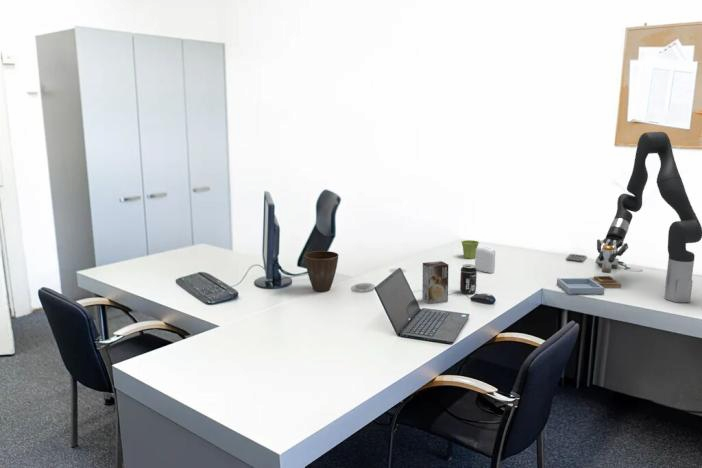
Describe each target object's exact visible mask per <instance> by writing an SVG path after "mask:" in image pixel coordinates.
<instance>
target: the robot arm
mask: <svg viewBox="0 0 702 468" xmlns="http://www.w3.org/2000/svg"><path fill="white" fill-rule="evenodd" d="M649 154H652V155H653V154H657V156H658V158H659V161H660V167H659V170H658V173H657V177H656V185H657V188H658V191H659V194H660V196H661V198H662V199H663V201H664V202H665V203H666V204H667V205H669V207H671V208H672V209H673V210H674V211H675V212H676V214H677V216H678V218H679V220H678V221H677V220H676V221H674V222H672V223H671V224H670V226H669V229H668V233H667V234H668V235H667V252H668V258H667V259H668V261H667V268H666V277H665V286H664V296H663V297H664V299H666V300H667V301H670V302H673V303H691V298H692V288H693V282H694V281H693V273H694V264H695V259H696V258H695V256H696V255H695V253H693V252H692V251H689V250H687V244H693V243H699V242H700V241H701V239H702V225H701V222H700V221H699V219H698V216H697V215H696V212H695V210H694V208H693V206H692V204H691V202H690V199H689V196H688V193H687V191H686V188H685V184H684V181H683V178H682V177H681V175H680V172H679V169H678V166H677V163H676V160H675V155H674V153H673V147H672V144H671V139H670V138H669V136H668V134H667V133H666V132H665V131H650V132H649V131H648V132H644V133H642V134H641V135H640V137H639V139H638V142H637V145H636V151H635V157H634V162H633V163H634V164H633V168H632V172H631V176H630V178H629V180H628V183H627V186H626V191H627V192H628V193H621V194H620V195H619V196H618V197H617V203H616V204H617V207H616V209H617V210H616V214H615V216H614V217H613V218H614V219H613V220H612V222H611V224H610V226H609V227H608V231H607V233H606V235H605V237H604V239H602V240H600V239H597V240H596V250H597V252H598V253H599V254H598V257H597V258H598V260H599V262H602V258H603V247H602V246H603V245H611V246H614V248H613V254H612V255H611V257H610V260H609V261H610V263H612V264H613V263H614V262H615V260H616V258H617V257H621V256H623V255H624V253H626V251H627V250H628V249H629V244H628V243H624V241H625V238H626V236H627V233H628V232H629V227H630V225H631V221H632V219H633V213H638V212H639V211H640V210H641V209H642V206H643V194H644V190H645V187H646V185H647V182H648V179H649V174H648V169H647V166H646V159H647V158H648V155H649ZM629 193H630V194H629ZM631 194H632V195H631ZM632 212H633V213H632ZM618 249H619V250H618Z"/></svg>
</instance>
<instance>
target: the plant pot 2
mask: <svg viewBox="0 0 702 468" xmlns="http://www.w3.org/2000/svg"><path fill="white" fill-rule="evenodd" d="M460 243H461V245H462V252H463V258H464V259H470V260H473V259H474V260H475V255H476V248H477V247H479V243H480V242H479V240H472V239H471V240H469V239H468V240H462V241H461V242H460Z"/></svg>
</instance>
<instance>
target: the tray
mask: <svg viewBox="0 0 702 468" xmlns="http://www.w3.org/2000/svg"><path fill="white" fill-rule="evenodd" d="M556 279H557V280H556V286H558V287H559V288H560V289H561V290H562V291H564V292H565V293H566V294H567V295H568V296H585V295H584V294H604V295H605V290H606V288H604V287H602V286H601V285H599V284H598V283H597V282H595V281H594V280H592V279H591V278H589V277H579V278H578V277H571V278H570V277H568V278H567V277H565V278H564V277H561V278H559V277H558V278H556Z"/></svg>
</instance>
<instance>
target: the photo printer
mask: <svg viewBox="0 0 702 468" xmlns="http://www.w3.org/2000/svg"><path fill="white" fill-rule="evenodd" d="M474 265H475V268H476V269H477V271H479V272H483V273H484V272H485V273H488V274H493V273H494V272H495V271H496V270H495V267H496V251H495V249H493V248H492V247H489V246H483V245H482V246H481V245H480V246H477V248H476V255H475V258H474Z"/></svg>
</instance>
